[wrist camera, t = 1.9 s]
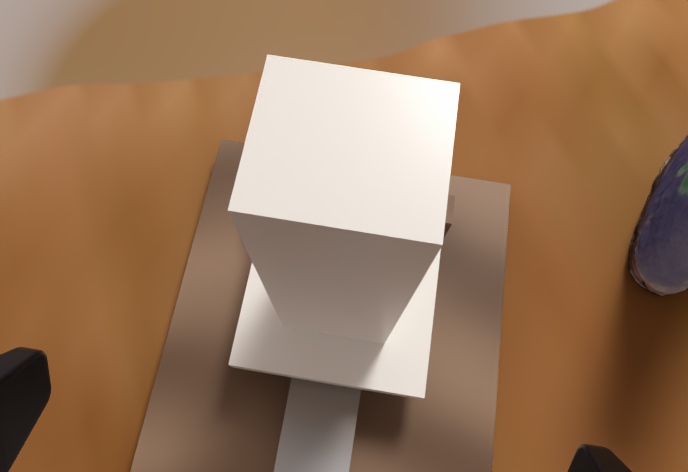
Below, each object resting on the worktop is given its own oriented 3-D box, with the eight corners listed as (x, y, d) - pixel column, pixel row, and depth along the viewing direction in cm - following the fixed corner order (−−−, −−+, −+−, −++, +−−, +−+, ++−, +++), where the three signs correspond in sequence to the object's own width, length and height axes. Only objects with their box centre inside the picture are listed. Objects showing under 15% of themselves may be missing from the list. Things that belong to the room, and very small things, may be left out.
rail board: (460, 797, 16) (486, 871, 14) (72, 720, 17) (22, 776, 14) (503, 194, 23) (526, 162, 20) (225, 151, 23) (211, 114, 21)
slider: (420, 399, 18) (535, 357, 8) (232, 367, 18) (105, 287, 8) (439, 232, 20) (549, 26, 10) (269, 205, 20) (205, -24, 10)
